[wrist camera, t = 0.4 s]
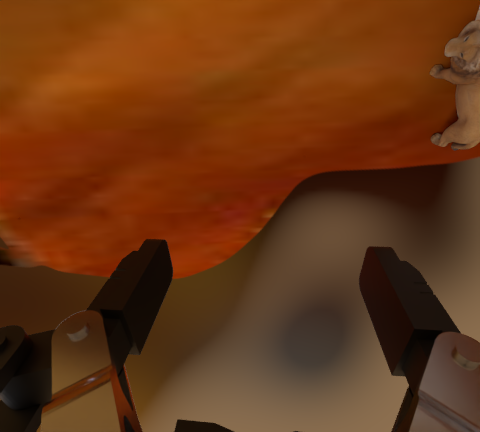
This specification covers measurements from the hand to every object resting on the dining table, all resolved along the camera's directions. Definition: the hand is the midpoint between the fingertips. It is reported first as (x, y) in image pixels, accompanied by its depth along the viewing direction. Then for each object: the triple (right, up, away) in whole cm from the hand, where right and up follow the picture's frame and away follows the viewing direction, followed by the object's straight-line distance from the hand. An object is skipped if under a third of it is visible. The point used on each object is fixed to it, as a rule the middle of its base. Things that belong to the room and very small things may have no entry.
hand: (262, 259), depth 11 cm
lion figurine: (+23, +17, +21) cm, 35 cm away
